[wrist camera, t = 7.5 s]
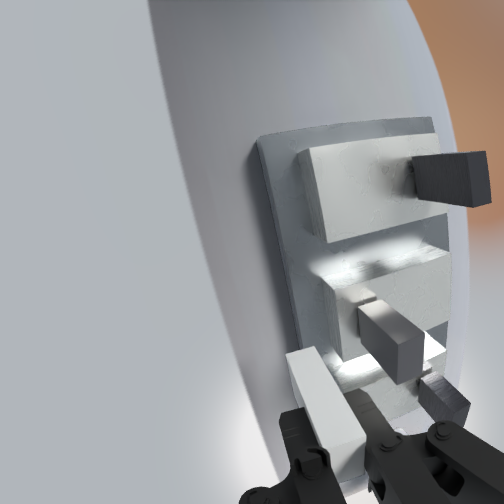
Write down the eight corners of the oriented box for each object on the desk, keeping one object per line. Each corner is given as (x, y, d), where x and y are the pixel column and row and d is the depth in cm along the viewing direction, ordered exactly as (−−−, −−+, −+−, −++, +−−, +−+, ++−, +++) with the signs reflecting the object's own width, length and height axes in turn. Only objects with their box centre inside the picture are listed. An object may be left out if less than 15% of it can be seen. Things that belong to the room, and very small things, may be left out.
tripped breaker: (357, 306, 17) (398, 344, 12) (380, 299, 17) (425, 332, 12) (360, 342, 18) (396, 385, 13) (382, 334, 18) (422, 374, 13)
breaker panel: (255, 141, 19) (287, 104, 10) (416, 120, 20) (505, 101, 10) (311, 421, 25) (343, 500, 15) (430, 374, 25) (484, 428, 16)
